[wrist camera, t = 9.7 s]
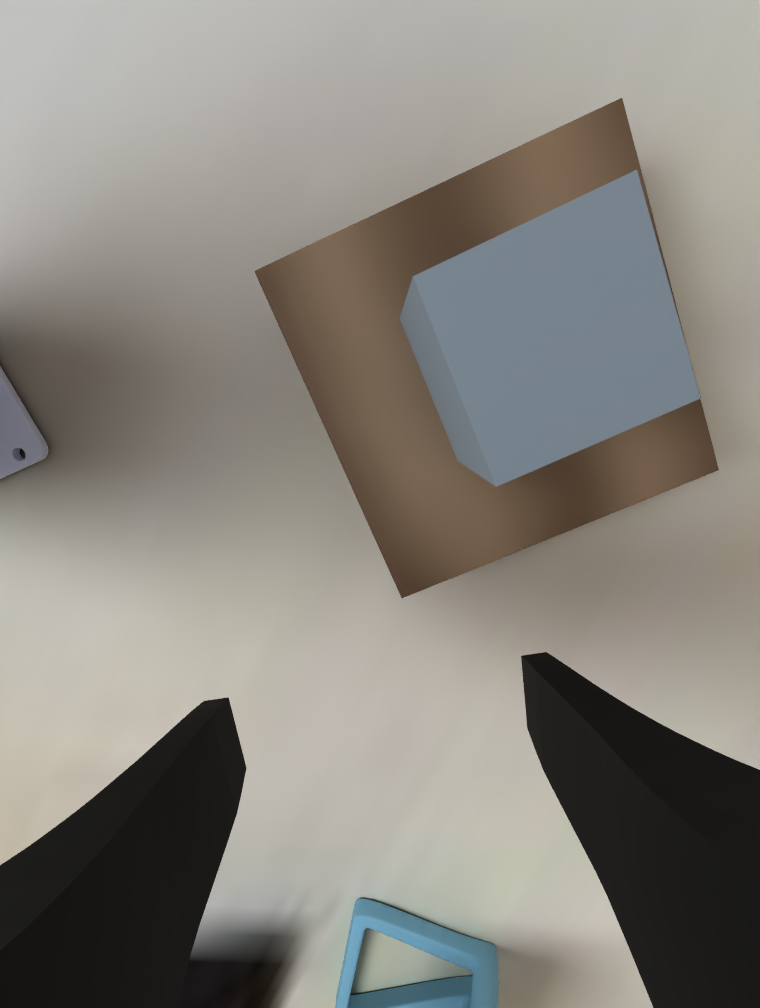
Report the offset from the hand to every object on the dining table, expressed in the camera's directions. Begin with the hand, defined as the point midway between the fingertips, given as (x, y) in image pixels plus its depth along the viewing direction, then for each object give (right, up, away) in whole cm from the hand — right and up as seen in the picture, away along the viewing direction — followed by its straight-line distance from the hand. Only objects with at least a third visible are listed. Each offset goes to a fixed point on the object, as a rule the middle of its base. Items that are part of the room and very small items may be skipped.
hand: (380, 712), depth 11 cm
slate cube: (+4, +10, +4) cm, 11 cm away
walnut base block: (+4, +10, +8) cm, 13 cm away
